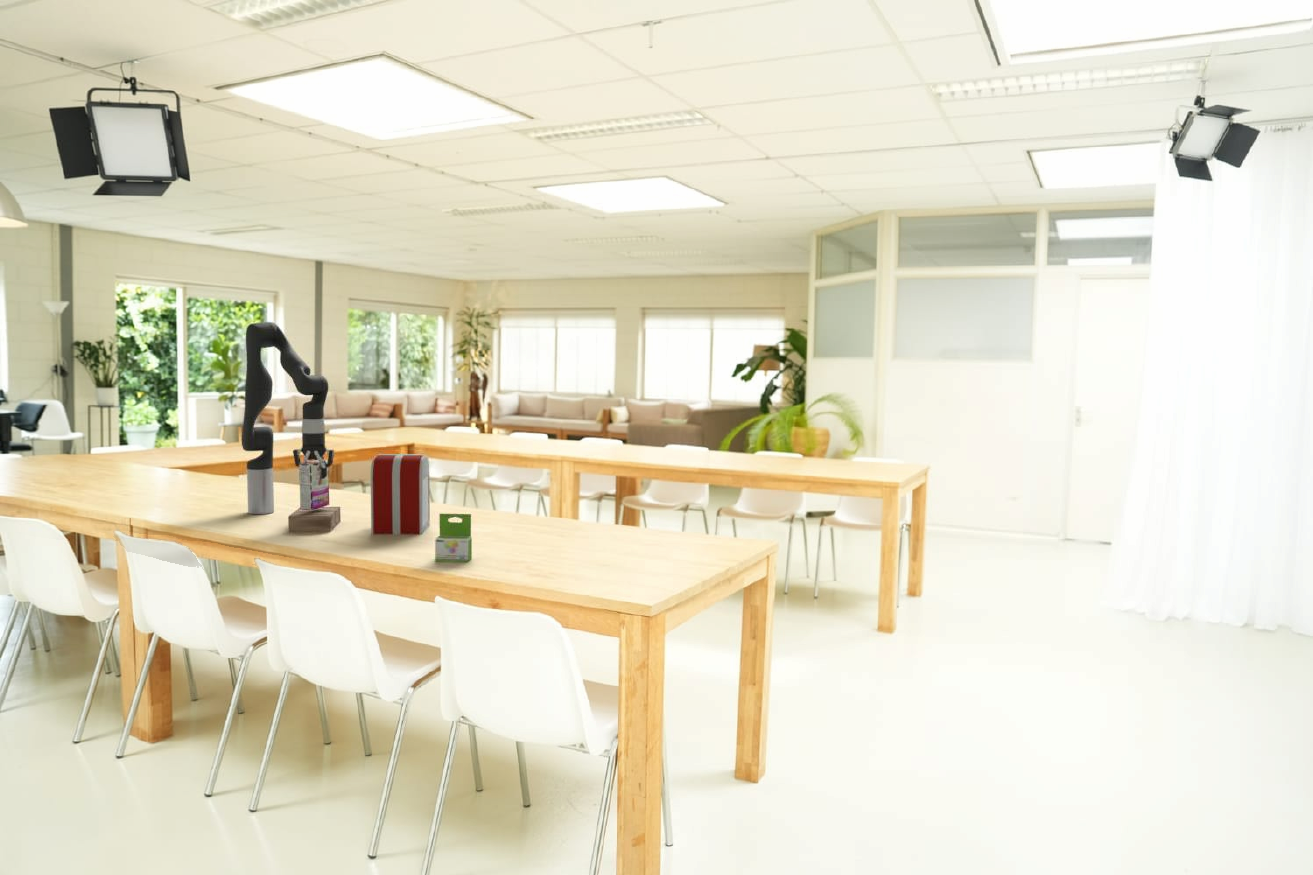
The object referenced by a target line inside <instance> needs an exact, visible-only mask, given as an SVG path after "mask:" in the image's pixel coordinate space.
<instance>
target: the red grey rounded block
mask: <svg viewBox="0 0 1313 875" xmlns="http://www.w3.org/2000/svg"><path fill="white" fill-rule="evenodd" d="M429 461H430V460H429V457H428V455H427V454H426V455H425V454H424V453H423V454H421V453H420V454H418V453H416V454H414V453H413V454H411V453H408V454H407V453H405V454H403V453H402V454H401V453H399V454H398V453H394V454H393V453H377V454H376V455H375V456H374V457H373V458H372V461H371V465H370V518H371V519H370V527H371V528H370V531H371V532H370V533H371V535H423V534H424V533H425V532H426V530H428V528H429V527H430V526H431V524H430V522H431V519H430V518H431V517H430V516H431V515H430V512H431V511H430V509H431V508H430V503H431V502H430V499H431V498H430V495H431V494H430V462H429Z"/></svg>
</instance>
